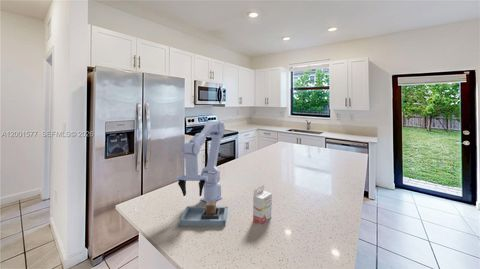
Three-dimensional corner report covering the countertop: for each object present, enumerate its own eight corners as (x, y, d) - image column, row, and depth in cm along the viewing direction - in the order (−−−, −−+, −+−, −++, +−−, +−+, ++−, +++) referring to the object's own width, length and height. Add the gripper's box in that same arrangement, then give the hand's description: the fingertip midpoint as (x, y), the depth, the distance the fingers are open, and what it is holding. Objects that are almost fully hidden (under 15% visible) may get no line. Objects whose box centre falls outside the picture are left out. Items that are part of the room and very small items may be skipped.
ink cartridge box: (262, 224, 91) (262, 192, 90) (252, 220, 94) (252, 189, 93) (272, 216, 98) (272, 186, 96) (263, 213, 101) (263, 184, 99)
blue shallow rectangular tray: (227, 211, 103) (227, 205, 103) (225, 226, 90) (225, 219, 90) (187, 211, 103) (187, 204, 103) (179, 226, 91) (178, 218, 90)
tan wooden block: (216, 215, 98) (215, 201, 98) (214, 220, 95) (214, 205, 94) (207, 215, 99) (207, 201, 98) (206, 220, 95) (205, 205, 94)
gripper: (173, 170, 94) (174, 198, 96) (205, 170, 94) (206, 198, 96) (178, 165, 101) (179, 192, 103) (208, 165, 101) (208, 192, 103)
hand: (192, 195), depth 100 cm, fingers open, 7 cm apart
